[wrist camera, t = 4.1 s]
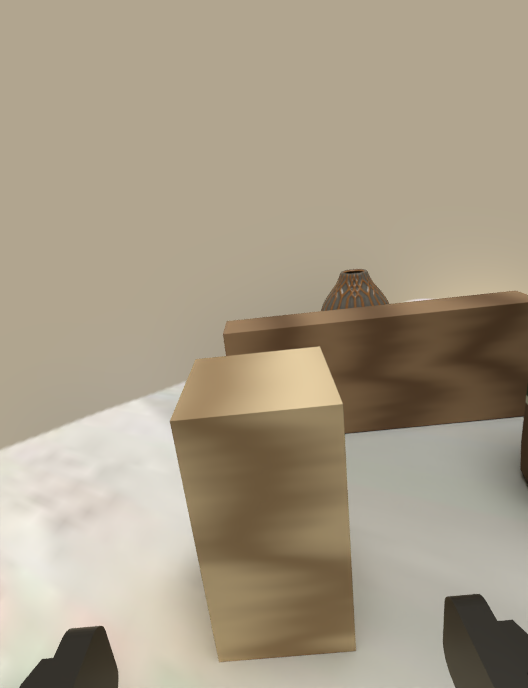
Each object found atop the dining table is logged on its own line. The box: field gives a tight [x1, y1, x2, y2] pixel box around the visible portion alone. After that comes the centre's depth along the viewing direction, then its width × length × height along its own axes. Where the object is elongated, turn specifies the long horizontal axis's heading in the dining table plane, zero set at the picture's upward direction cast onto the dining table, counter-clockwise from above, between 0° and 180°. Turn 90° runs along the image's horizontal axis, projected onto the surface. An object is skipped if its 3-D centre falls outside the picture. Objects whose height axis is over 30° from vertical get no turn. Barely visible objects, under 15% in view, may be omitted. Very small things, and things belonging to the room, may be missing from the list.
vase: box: [321, 269, 389, 311], centre depth 40 cm, size 7×7×9 cm
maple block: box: [170, 346, 356, 662], centre depth 16 cm, size 5×5×10 cm
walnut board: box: [223, 291, 528, 433], centre depth 29 cm, size 20×3×8 cm, turn 90°
